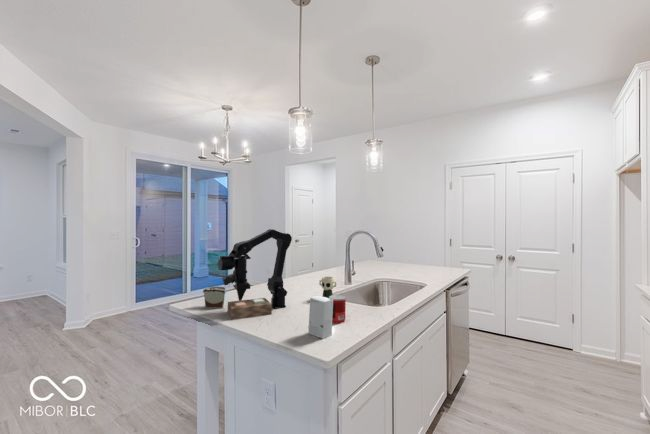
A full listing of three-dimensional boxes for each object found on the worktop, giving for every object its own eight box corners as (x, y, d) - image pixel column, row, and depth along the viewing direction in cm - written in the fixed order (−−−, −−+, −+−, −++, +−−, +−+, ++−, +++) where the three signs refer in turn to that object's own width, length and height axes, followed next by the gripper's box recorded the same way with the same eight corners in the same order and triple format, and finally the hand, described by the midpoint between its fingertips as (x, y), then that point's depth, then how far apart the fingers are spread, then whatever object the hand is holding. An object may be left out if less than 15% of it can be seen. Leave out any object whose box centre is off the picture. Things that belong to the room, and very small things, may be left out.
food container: (230, 305, 162) (230, 286, 162) (225, 308, 156) (225, 289, 156) (208, 304, 163) (208, 286, 164) (202, 307, 157) (202, 288, 157)
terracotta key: (244, 309, 150) (244, 301, 150) (246, 311, 145) (246, 304, 146) (234, 310, 148) (234, 302, 148) (235, 313, 143) (235, 305, 143)
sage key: (262, 305, 154) (262, 298, 154) (264, 307, 149) (264, 300, 149) (252, 306, 152) (252, 299, 152) (254, 309, 147) (254, 301, 147)
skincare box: (308, 334, 122) (308, 297, 122) (317, 329, 127) (318, 294, 127) (323, 339, 117) (324, 301, 117) (333, 335, 121) (333, 298, 121)
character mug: (316, 300, 173) (316, 277, 174) (322, 297, 180) (322, 275, 180) (333, 302, 169) (333, 279, 169) (338, 299, 175) (338, 277, 175)
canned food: (347, 318, 141) (347, 295, 141) (342, 324, 133) (342, 299, 134) (331, 317, 143) (331, 294, 144) (326, 322, 136) (326, 298, 136)
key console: (264, 307, 159) (265, 297, 159) (271, 314, 147) (271, 304, 147) (227, 311, 150) (227, 301, 150) (231, 319, 139) (231, 308, 139)
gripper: (220, 266, 152) (220, 297, 151) (225, 272, 135) (225, 307, 135) (243, 265, 157) (242, 295, 156) (250, 271, 140) (250, 304, 140)
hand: (240, 300), depth 147 cm, fingers closed
